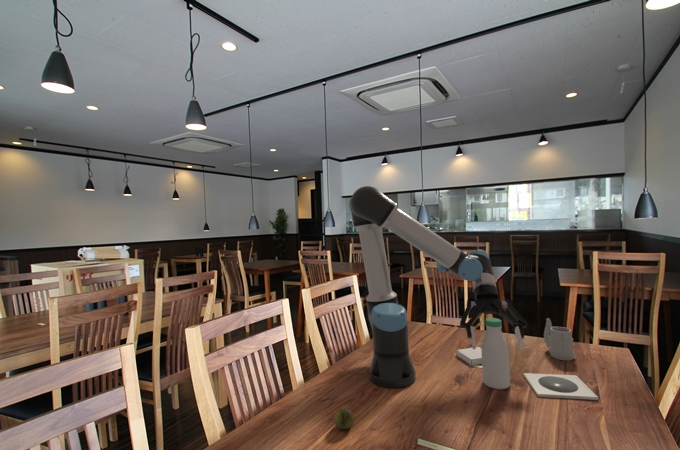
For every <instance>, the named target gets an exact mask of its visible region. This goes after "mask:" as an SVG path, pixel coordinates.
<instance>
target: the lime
mask: <svg viewBox="0 0 680 450" xmlns="http://www.w3.org/2000/svg"><path fill="white" fill-rule="evenodd" d="M354 421H355V415H354V413H353V411H351V410H350V409H346V408H343V409H340V410H338V411H337V412H336V413H335V414H334V423H335V424H336V427H338V428H339V429H341V430H348V429H349V428H351V427H352V425H353V423H354Z"/></svg>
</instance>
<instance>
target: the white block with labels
mask: <svg viewBox="0 0 680 450" xmlns="http://www.w3.org/2000/svg"><path fill="white" fill-rule="evenodd" d="M455 351H456V353H455V355H456V356H457V357H458V358H460V359H461V360H463V362H466V363H467V364H469V366H478V365H482V347H480V346H476V349H473V347H472V343H471V344H469V347H467V348H460V349H456V350H455Z"/></svg>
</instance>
